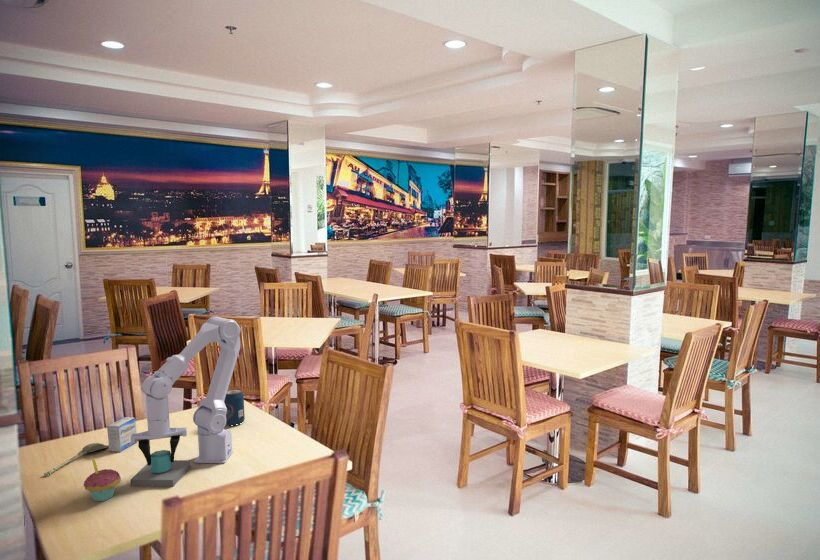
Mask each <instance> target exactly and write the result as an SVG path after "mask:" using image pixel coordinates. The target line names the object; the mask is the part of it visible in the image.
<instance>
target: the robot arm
mask: <svg viewBox="0 0 820 560" xmlns="http://www.w3.org/2000/svg"><path fill="white" fill-rule="evenodd" d="M241 332H242V328H241V326H240V325H239V324H238V322H237V321H236V320H235V319H231V318H230V319H229V318H224V317H220V316H218V315H212V316H211V317H209V318H208V319H207V320H206V322H204V323H203V324H202V325H201V327H200V329H199V331H198V332H197V333H196V335H194V336H193V338H192V339H191V340H190V341H189V342H188V343H187V345H186V346H185V347H184V348H183V349H182V350H181V352H180V353H179V354H173V355H171V356H168V357H167V358H166V359H165V361H166V362H165V363H164V364H162V365H161V367H160V368H158V370H155V371H154V372H153V374H152V375H150V376H147V377H146V378H145V379H144V381H143V384H142V385H141V386H140V388H141V391H142V393H143V394H145V403H146V404H145V406H146V407H145V408H146V420H147V430H145V431H143V432H137V434H132V435H131V443H135V442H136V443H138V445H137V446H138V449H139V450H140V451H141V453H142V455H143V456H144V458H145V461H146V464H147V465H148V466H150V465H151V458H150V454H151V450H150V449H151V445H150V444H151V442H150V440H158V439H159V440H160V439H168V438H170V439H169V445H170V453H171V462H174V460H175V453H176V450H177V447H178V445H179V442H180V438H181V437H187V435H188V429H187V427H171V426H170V424H171V423H170V408H169V407H170V406H169V395H170V394H171V391H172V389H173V385H174V384H175V383H176V382H177V380H178V379H179V378H180V377H181V376H182V375H183V374H184V373H185V372H186V370H188V368H189V362H190V361H191V360H192V359H193V358H194V357H195V356H197V355H198V354H199V353H200V352H201V351H202V350H203V349H204V348H205V347H206V346H207V345H208V344H210V343H211V344H213V343H217V344H218V345H219V347H220V351H219V355H218V357H217V361H216V364H215V368H214V371H213V374H212V377H211V381H210V384H209V387H208V390H207V394H206V397H204V399H202V400H201V401H200V402H199V405H198V407H197V408H196V410H195V411H194V413H193V415H192V420H193V421H192V422H193V423H194V424H195V426H197V441H198V456H197V457H196V459H195V460H194V461H193V463H194V464H225V463H226V462H227V460H228V459H229V458H230V456H231V455H232V454H233V453H234V451H233V443H232V442H233V438H232V437H233V436H232V432H231V430H229V429H225V426H227V424H226V412H227V408H226V405H225V403H224V400H225V397H226V393H227V390H229V388H230V387H229V386H230V383H231V381H232V380H231V379H232V377H233V373H234V369H235V367H236V363H237V359H238V357H239V353H240V350H241V339H240V334H241ZM136 443H135V444H136Z"/></svg>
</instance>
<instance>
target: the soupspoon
mask: <svg viewBox="0 0 820 560" xmlns="http://www.w3.org/2000/svg"><path fill="white" fill-rule="evenodd" d="M102 449H108V446H107V445H106V444H104V443H99V442H93V443H90V444H87V445H85V446H83V448H82V450H81V451H82V452H81V453H78V454H77V455H75V456H73V457H71V458H69V459H67V460H66V461H64V462H62V463H61V464H60V465H57V466H56V467H53V468H52V469H50V470H49V471H47V472H44V473H43V476H44V477H47V476H48V477H50V476H51V475H52V474H53V473H54V472H56V471H57V470H58V469H60V468H62V467H63V466H65V465H66V464H68V463H70V462H71V461H73V460H76V459H77V458H79V457H81V456H83V455H86V454H88V453H93V452H96V451H100V450H102Z"/></svg>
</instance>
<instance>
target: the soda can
mask: <svg viewBox="0 0 820 560" xmlns="http://www.w3.org/2000/svg"><path fill="white" fill-rule="evenodd" d="M224 403H225V405H226V408H227V412H226V425H227V424H228V425H236V424H240V423H242V422H243V423H244V421H245V418H246V417H245V396H244V393H243V391H242V389H240V388H231V389H228V390H227V393H226V397H225V400H224ZM243 423H242V424H243ZM228 425H227V426H228Z"/></svg>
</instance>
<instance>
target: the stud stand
mask: <svg viewBox="0 0 820 560" xmlns="http://www.w3.org/2000/svg"><path fill="white" fill-rule="evenodd" d="M191 467H192V461H191V459H190V460H188V459H186V460H185V459H183V460H180V459H179V460H177V459H174V462H171V469H170V470H168V471H166V472H162V473H153V472H152V471H151V465H150V466H148V465H147V463H146V464H145V465H144V466H143V467H142V468H140V470H139V471H137V473H136V474H135V475H133V476H132V477H131V478H130V479H129V481H130V487H131V486H134V487H142V488H143V487H144V488H145V487H155V488H156V487H163V488H164V487H169V488H170V487H171V488H173V487H175V486H176V484H177V483H178V482H179V481H180V479H181V480H182V477H183V476H184V475H185V474H186V473H187V472H188V471H189V469H190V468H191ZM134 487H133V488H134Z"/></svg>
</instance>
